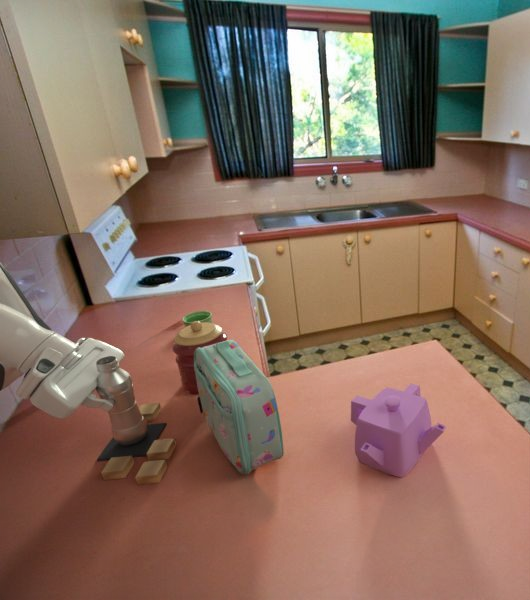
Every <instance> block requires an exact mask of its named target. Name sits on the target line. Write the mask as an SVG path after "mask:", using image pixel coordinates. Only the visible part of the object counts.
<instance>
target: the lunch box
mask: <svg viewBox="0 0 530 600" xmlns="http://www.w3.org/2000/svg"><path fill="white" fill-rule="evenodd" d="M194 370H195V374H196V381H197V386H198V392H199V394H198V397H197V399H196V401H197V404H198V408H199V412H200V414H203V415H204V418H205V420H206V423H207V425H208V427H209V430H210V431H211V433H212V434H213V437H214V438H215V439H216V441H217V442H218V446H219V447H220V449H221V450H222V452H223V454H224V455H225V457H226V458H227V460H228V461H229V462H230V463H231V464H232V466H234V468H235V469H236V470H237V471H238V473H240V474H241V475H249V474H250V473H251V472H252V471H254V470H256V469H258V468H260V467H263V466H266V465H267V464H271V463H273V462H275V461H277V460H281V459H282V458H283V456H284V440H283V430H282V424H281V419H280V413H279V407H278V403H277V399H276V395H275V392H274V389H273V385H272V383H271V382H270V380H269V379H268V377H267V376H266V375H265V374H264V372H263V371H262V370H261V369H260V368H259V367H258V365H256V363H254V361H253V360H252V359H251V358H250V357H249V356H248V354H247V353H246V352H245V351H244V350H243V348H242V347H241V346H240V345H239V344H238V342H236V341H235V340H234V339H227V341H223V342H220V343H216V344H213V345H209V346H205V347H203V348H200V347H199V348H197V349H196V350H195V352H194Z"/></svg>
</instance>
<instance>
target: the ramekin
mask: <svg viewBox="0 0 530 600" xmlns="http://www.w3.org/2000/svg"><path fill="white" fill-rule="evenodd" d="M212 318H213V314H212V312H211V311H208V310H197V311H192V312H190V313H187V314H185V315H184V316H183V317H182V319H181V320H182V323H183V324H184V328H185V327H187V326H189V325H191V323H192V322H194V321H199V322H200V323H203V322H207V323H212V324H213V319H212Z"/></svg>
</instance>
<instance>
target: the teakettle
mask: <svg viewBox="0 0 530 600" xmlns="http://www.w3.org/2000/svg"><path fill="white" fill-rule="evenodd" d="M350 421H351V422H352V423H353V424H354V425H355V427H356V428H355V434H354V454H355V457H356V458H357V460H358V462H360V463H361V464H363V465H364V466H365V465H366V466H367V467H370V468H373V469H375V470H377V471H380V472H383V473H385V474H388V475H391V476H394V477H396V478H405V477H406V476H407V475H408V474H409V473H410V472H411V471H412V470H413V469H414V468H415V466H416V465H417V464H418V463H419V461H420V459H421V458H422V457H423V455H424V452H426V451H427V450H428V449H429V448H430V446H432V445H433V444H434V442H435V441H436V440H437V439H438V438H439V437H440V436H441V435H442V434H443V433H444V432H445V430H446V429H447V426H446V425H443V424H442V423H439V422H437V423H436V424H434V425H432V417H431V412H430V408H429V403H428V401H427V399H426V398H425V397H422V396H421V386H420V385H418V384H415V383H410V384H409V385H407V387H406V388H405V389H404V390H400V389H396V388H391V387H385V388H383V389H381V390H380V391H379V392H378V393H377V394H376V395H375V396H374V397H373V398H371V399H370V398H368V397H364V396H360V395H356V396H354V398H353V399H352V400H351V401H350Z"/></svg>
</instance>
